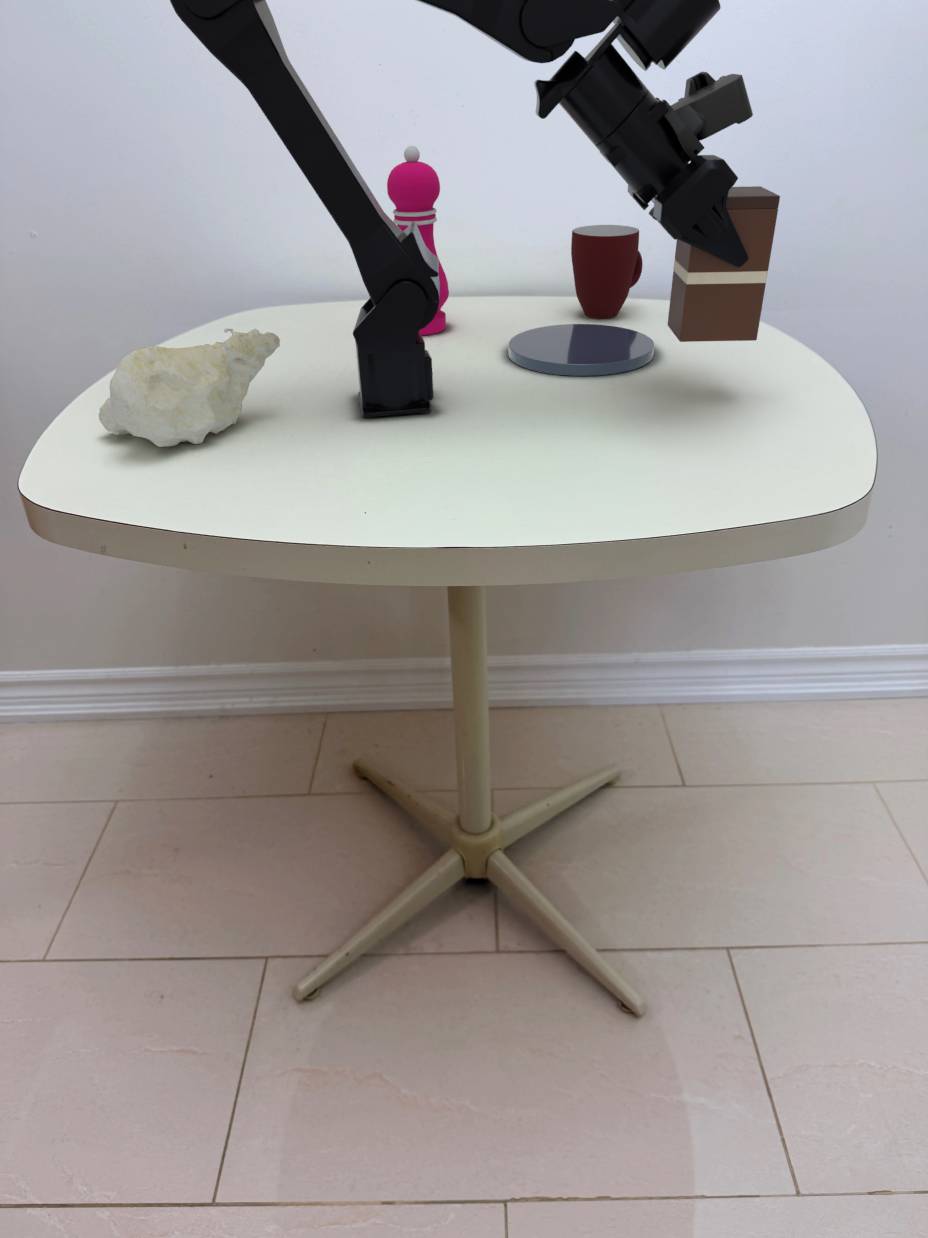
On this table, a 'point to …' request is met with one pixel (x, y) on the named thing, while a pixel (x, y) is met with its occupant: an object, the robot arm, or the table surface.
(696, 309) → the cake slice
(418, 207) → the pepper mill
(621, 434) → the table surface
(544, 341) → the plate
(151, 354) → the white seashell
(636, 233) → the mug
